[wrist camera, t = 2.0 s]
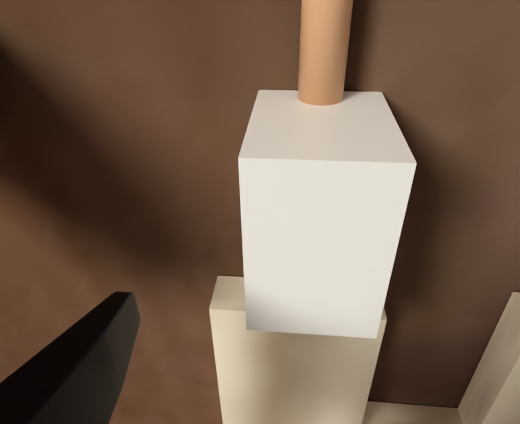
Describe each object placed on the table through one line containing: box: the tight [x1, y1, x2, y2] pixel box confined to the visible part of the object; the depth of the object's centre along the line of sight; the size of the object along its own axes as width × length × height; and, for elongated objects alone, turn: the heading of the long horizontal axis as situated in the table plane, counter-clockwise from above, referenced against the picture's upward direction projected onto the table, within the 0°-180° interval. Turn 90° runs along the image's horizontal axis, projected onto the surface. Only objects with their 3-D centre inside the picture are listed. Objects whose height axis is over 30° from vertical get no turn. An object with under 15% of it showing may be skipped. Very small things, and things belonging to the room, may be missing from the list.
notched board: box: [209, 276, 520, 424], centre depth 21 cm, size 20×14×2 cm
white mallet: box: [238, 0, 417, 339], centre depth 10 cm, size 4×15×5 cm, turn 1°
